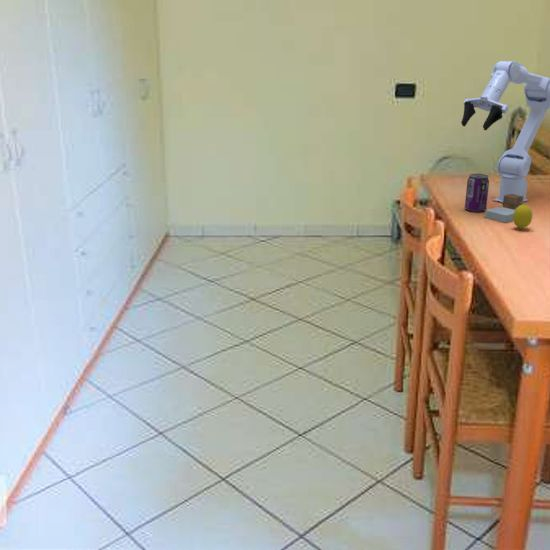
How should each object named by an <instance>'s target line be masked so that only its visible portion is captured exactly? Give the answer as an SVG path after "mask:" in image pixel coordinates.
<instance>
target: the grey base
mask: <svg viewBox="0 0 550 550" xmlns="http://www.w3.org/2000/svg"><path fill="white" fill-rule="evenodd" d="M514 211H515V210H513V209H509V208H505V207H503V206H497V207H493V208H489V209H486V210H484V219H488V218H489V219H488V220H492V219H493V221H496V222H500V221H501V222H500V223H503V222H504V224H507V223H510V221H511V222H514V221H513V214H514Z"/></svg>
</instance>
